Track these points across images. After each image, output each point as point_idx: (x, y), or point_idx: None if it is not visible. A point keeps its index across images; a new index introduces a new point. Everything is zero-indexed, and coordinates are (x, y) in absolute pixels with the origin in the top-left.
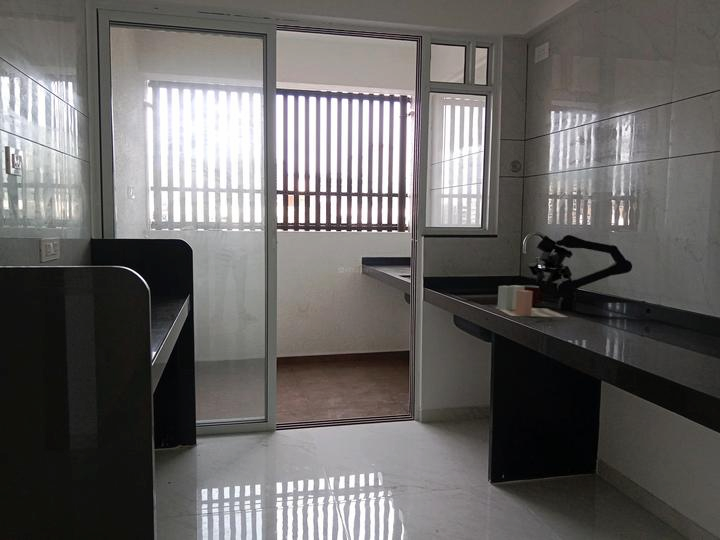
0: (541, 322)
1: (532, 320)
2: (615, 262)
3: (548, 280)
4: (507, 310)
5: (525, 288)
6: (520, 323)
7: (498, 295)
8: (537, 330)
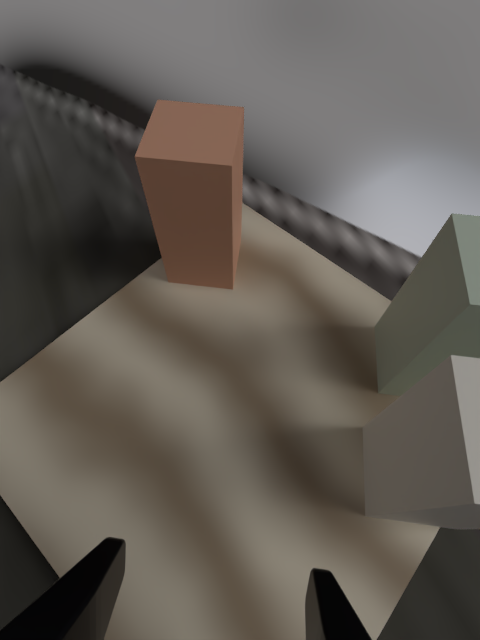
0: (77, 218)
1: (131, 230)
2: None
3: (26, 613)
4: (358, 323)
5: None
6: None
7: None
8: (43, 90)
